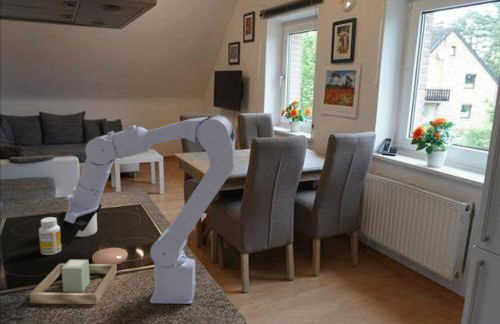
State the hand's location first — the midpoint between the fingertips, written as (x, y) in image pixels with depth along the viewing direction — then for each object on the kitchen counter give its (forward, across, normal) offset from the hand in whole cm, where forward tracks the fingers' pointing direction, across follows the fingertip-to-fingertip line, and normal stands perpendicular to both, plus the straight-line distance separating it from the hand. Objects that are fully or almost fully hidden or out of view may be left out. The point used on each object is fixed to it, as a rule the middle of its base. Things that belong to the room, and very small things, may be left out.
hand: (72, 236), depth 90 cm
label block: (+12, 0, +5) cm, 13 cm away
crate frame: (+12, 0, +5) cm, 13 cm away
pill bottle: (+18, -33, -5) cm, 38 cm away
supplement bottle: (+19, -19, -9) cm, 28 cm away
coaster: (+12, -15, +8) cm, 21 cm away
